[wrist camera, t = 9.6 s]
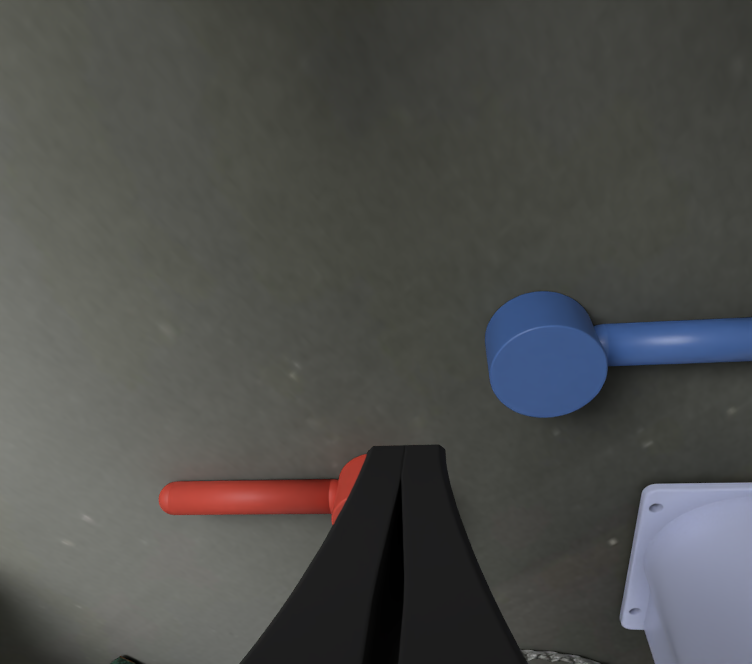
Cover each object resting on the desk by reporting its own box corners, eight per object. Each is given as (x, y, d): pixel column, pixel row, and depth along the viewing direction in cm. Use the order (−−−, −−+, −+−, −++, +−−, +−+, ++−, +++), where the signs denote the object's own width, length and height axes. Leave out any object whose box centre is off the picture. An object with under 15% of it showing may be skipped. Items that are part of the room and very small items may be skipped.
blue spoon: (866, 272, 18) (916, 308, 16) (830, 368, 19) (871, 410, 18) (484, 293, 19) (489, 328, 17) (485, 379, 21) (489, 419, 19)
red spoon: (179, 513, 27) (160, 553, 25) (154, 456, 25) (131, 496, 23) (426, 511, 25) (425, 554, 23) (420, 450, 23) (418, 492, 21)
